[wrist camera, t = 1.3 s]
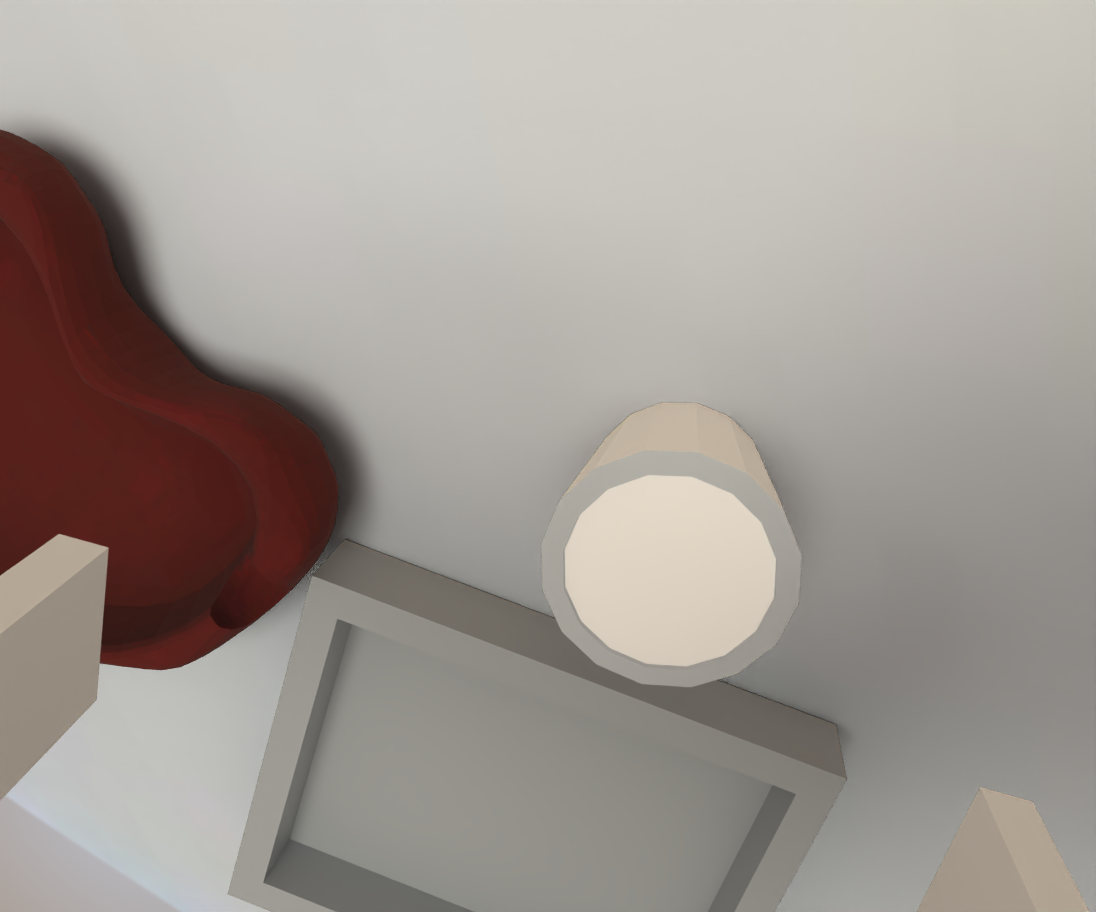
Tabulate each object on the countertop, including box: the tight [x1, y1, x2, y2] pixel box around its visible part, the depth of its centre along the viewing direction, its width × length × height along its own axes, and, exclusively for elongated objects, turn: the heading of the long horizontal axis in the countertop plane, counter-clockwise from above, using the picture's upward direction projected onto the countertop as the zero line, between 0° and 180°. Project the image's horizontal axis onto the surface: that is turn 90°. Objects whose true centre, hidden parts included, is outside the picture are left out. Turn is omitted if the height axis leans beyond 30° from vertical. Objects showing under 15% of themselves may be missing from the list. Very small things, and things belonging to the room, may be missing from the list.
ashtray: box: [0, 130, 338, 670], centre depth 33 cm, size 18×16×5 cm
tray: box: [228, 539, 847, 912], centre depth 35 cm, size 18×14×3 cm
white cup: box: [541, 402, 802, 687], centre depth 28 cm, size 7×7×7 cm
